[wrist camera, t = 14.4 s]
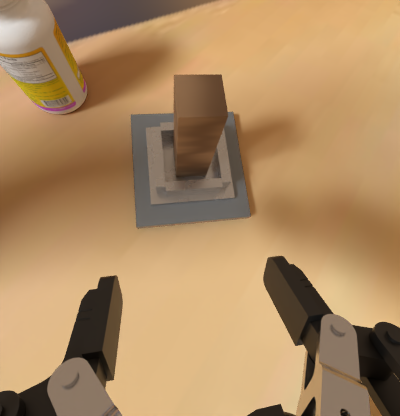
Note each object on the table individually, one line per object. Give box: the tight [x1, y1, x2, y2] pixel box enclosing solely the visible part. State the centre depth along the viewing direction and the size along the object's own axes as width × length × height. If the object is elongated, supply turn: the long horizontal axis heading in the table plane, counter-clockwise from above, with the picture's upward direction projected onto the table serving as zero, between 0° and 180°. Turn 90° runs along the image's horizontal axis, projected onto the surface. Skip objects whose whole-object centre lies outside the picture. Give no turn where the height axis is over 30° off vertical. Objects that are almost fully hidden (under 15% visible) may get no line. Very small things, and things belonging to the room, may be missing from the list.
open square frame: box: [146, 122, 235, 206], centre depth 26 cm, size 10×10×3 cm
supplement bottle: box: [0, 0, 87, 114], centre depth 23 cm, size 7×7×13 cm
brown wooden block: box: [173, 75, 228, 177], centre depth 22 cm, size 4×4×11 cm
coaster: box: [131, 112, 251, 229], centre depth 28 cm, size 13×14×1 cm
